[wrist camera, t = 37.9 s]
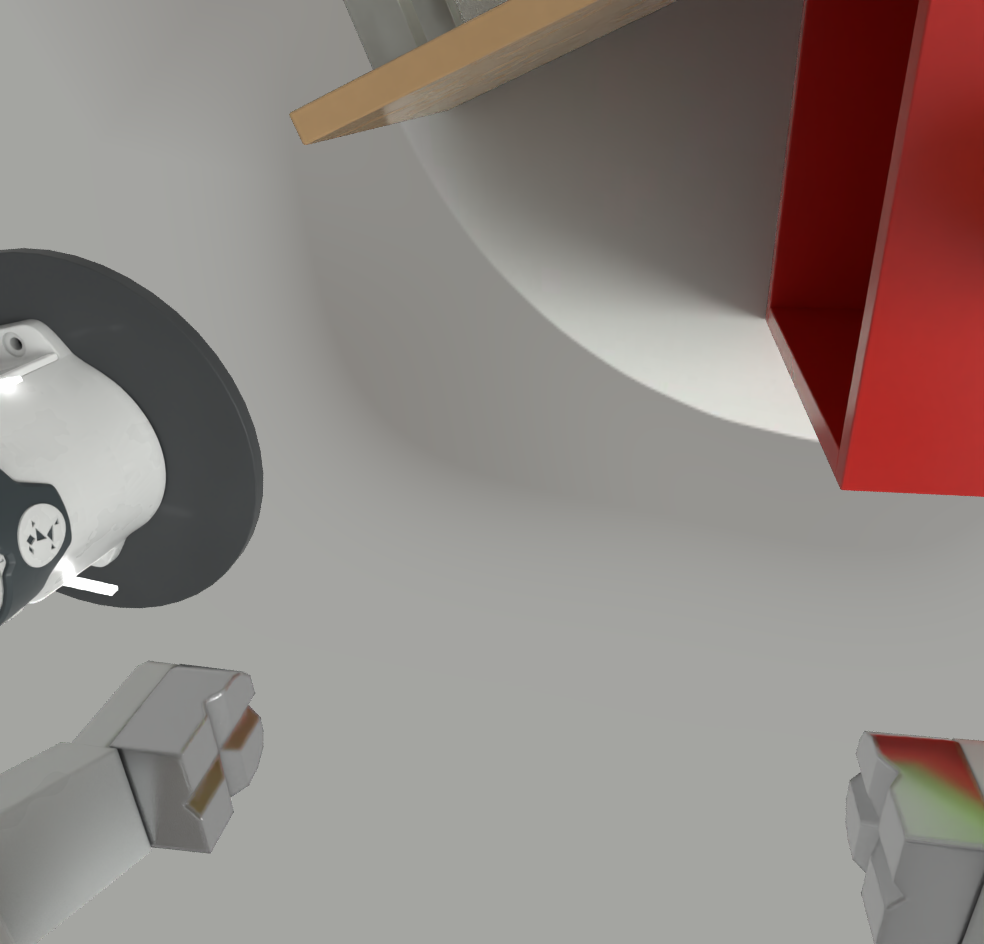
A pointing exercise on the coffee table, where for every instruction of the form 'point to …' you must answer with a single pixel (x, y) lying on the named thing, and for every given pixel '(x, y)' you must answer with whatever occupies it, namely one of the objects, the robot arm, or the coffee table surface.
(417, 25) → the door
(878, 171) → the cabinet
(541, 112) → the coffee table surface
